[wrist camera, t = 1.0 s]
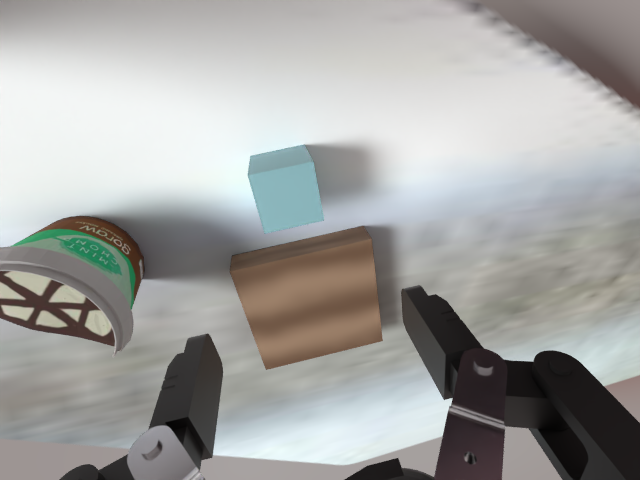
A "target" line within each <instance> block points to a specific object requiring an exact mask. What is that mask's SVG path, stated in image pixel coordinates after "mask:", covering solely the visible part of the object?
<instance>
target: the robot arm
mask: <svg viewBox="0 0 640 480" xmlns="http://www.w3.org/2000/svg"><path fill="white" fill-rule="evenodd" d="M401 296H402V315H403V322H404V325H405V328H406V331H407V333H408V335H409V336H410V338H411V340H412V342H413V344H414V346H415V347H416V349H417V351H418V353H419V355H420V357H421V358H422V360H423V362H424V364H425V366H426V368H427V370H428V371H429V373H430V375H431V377H432V379H433V381H434V382H435V384H436V386H437V388H438V390H439V392H440V393H441V395H442V397H443V399H444V400H445V399H449V398H453V399H452V404H451V406H450V407H449V410H448V414H447V419H446V423H445V428H444V433H443V438H442V443H441V447H440V452H439V457H438V461H437V466H436V471H435V476H434V477H432V476H430V475H428V474H426V473H424V472H421V471H417V470H413V469H407V468H401V465H400V462H399V459H398V458H396V459H392V460H389V461H384V462H381V463H377V464H373V465H369V466H366V467H365V468H363V469H362V470H360V471H358V472H356V473H355V474H353V475H352V476H350V477H348V478H347V479H345V480H502V469H503V452H504V438H505V426H509V427H521V428H529V430H530V431H531V433H532V434H533V436H534V437H535V439H536V440H537V442H538V443H539V445H540V446H541V448H542V449H543V451H544V452H545V454H546V455H547V457H548V458H549V460H550V461H551V463H552V464H553V466H554V467H555V469H556V470H557V472H558V474H559V475H560V477H561V478H562V479H563V480H640V423H639V422H638V421H637V420H636V419H635V418H634V417H633V416H632V415H631V414H630V413H629V412H628V411H627V410H626V409H625V408H624V407H623V406H622V405H621V403H620V402H618V400H617V399H616V398H615V397H614V396H613V395H612V394H611V393H610V392H609V391H608V390H607V389H606V388H605V387H604V386H603V385H602V384H601V383H600V382H599V381H598V380H597V379H596V378H595V377H594V376H593V375H592V374H591V373H590V372H589V371H588V370H587V369H586V368H585V367H584V366H583V365H582V364H581V363H580V362H579V361H578V360H576V359H575V358H573V357H572V356H570V355H568V354H565V353H562V352H558V351H543V352H540V353H538V354H537V355H536V356H535V358H534V362H527V361H509V360H504V359H502V358H501V357H500V356H499V355H498V354H496V353H495V352H493V351H490V350H487V349H484V348H483V347H482V346H481V344H480V343H479V342H478V341H477V339H476V338H475V337H474V335H473V334H472V333H471V332H470V330H469V329H468V328H467V326H466V325H465V324H464V323H463V321H462V320H460V318H459V316H458V315H457V314H456V312H454V310H453V309H452V307H451V306H450V305H449V303H448V302H447V301H446V300H444V299H442V298H441V297H439V296H438V295H436V294H435V295H431V296H428V295H427V293H426V292H425V291H424V289H423V288H422V287H421V286H420V285H418V286H414V287H409V288H405V289H402V291H401ZM222 377H223V367H222V362H221V359H220V357H219V354H218V352H217V350H216V348H215V345H214V343H213V341H212V339H211V337H210V335H209V334H204V335H200V336H195V337H191V338H189V339H188V340H187V343H186V347H185V350H184V353H180V354H177V355H176V356H175V358H174V359H173V360H172V362H171V363H170V364H169V366H168V369H167V372H166V375H165V380H164V381H163V385H162V390H161V391H160V394H159V397H158V401H157V404H156V407H155V410H154V414H153V417H152V420H151V423H150V426H149V429H148V430H147V431H146V432H144V433H143V434H142V435H141V436H139V438H138V439H137V440H136V441H135V442H134V443H133V445H132V447H131V448H130V450H129V453H128V454H127V455H126V456H124V457H122V458H120V459H119V460H117V461H115V462H113V463H111V464H110V465H108V466H106V467H104V468H103V469H100V470H98V469H97V468H96V467H94V466H93V465H90V464H87V465H81V466H79V467H76V468H75V469H73V470H71V471H69V472H68V473H67V474H65V475H64V476H63V477H62V478H61V479H60V480H205V478H204V477H203V475H202V474H201V472H200V466H201V460H204V459H208V458H212V456H213V448H214V440H215V432H216V425H217V417H218V409H219V401H220V393H221V385H222Z"/></svg>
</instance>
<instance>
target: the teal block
mask: <svg viewBox="0 0 640 480" xmlns="http://www.w3.org/2000/svg"><path fill="white" fill-rule="evenodd" d="M248 178H249V181H250V185H251V188H252V192H253V195H254V199H255V202H256V206H257V209H258V213H259V216H260V219H261V223H262V226H263V230H264V233H265V234H266V233H270V232H275V231H279V230H284V229H288V228H293V227H297V226H302V225H306V224H311V223H315V222H319V221H324V217H323V211H322V206H321V200H320V195H319V189H318V184H317V178H316V173H315V167H314V162H313V160H312V158H311V156H310V154H309V152H308V150H307V148H306V147H305V145H300V146H296V147H291V148H286V149H281V150H277V151H272V152H267V153H262V154H258V155H253V156H250V162H249V170H248Z"/></svg>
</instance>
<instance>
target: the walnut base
mask: <svg viewBox="0 0 640 480" xmlns="http://www.w3.org/2000/svg"><path fill="white" fill-rule="evenodd" d="M230 274H231V276H232V279H233V282H234V285H235V287H236V290H237V293H238V295H239V298H240V301H241V303H242V306H243V309H244V311H245V314H246V317H247V320H248V322H249V325H250V328H251V330H252V333H253V336H254V338H255V341H256V344H257V347H258V349H259V352H260V355H261V357H262V360H263V363H264V365H265V368H266V370H267V369H271V368H275V367H279V366H283V365H287V364H291V363H295V362H300V361H304V360H308V359H312V358H316V357H320V356H324V355H328V354H332V353H336V352H340V351H344V350H348V349H352V348H356V347H360V346H364V345H368V344H372V343H376V342H380V341H383V340H382V331H381V321H380V312H379V303H378V293H377V284H376V275H375V265H374V256H373V247H372V239H371V237H370V236H369V234H368V232H367V231H366V229H365V228H364V226H361V227H356V228H352V229H347V230H343V231H339V232H334V233H330V234H325V235H321V236H317V237H312V238H308V239H303V240H299V241H295V242H290V243H286V244H281V245H277V246H273V247H268V248H264V249H259V250H255V251H251V252H246V253H242V254H237V255H233V256H232V260H231V266H230Z"/></svg>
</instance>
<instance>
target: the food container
mask: <svg viewBox="0 0 640 480" xmlns="http://www.w3.org/2000/svg"><path fill="white" fill-rule="evenodd" d="M143 274H144V257H143V255H142V253H141V251H140V249H139V246H138V244H137V243H136V242H135V241H134V240H133V239H132V238H131V237H130V235H129V234H128V233H127V232H125V231H124V230H122V229H121V228H119V227H118V226H116V225H115V224H112V223H110V222H108V221H105V220H102V219H99V218H94V217H88V216H75V217H68V218H64V219H61V220H58V221H56V222H54V223H52V224H50V225H48V226H47V227H45V228H43V229H41V230H39V231H38V232H36V233H34V234H32V235H30V236H29V237H27V238H25V239H23V240H21V241H20V242H18V243H16V244H14V245H12V246H11V247H1V248H0V318H1V319H4V320H7V321H9V322H12V323H15V324H17V325H20V326H23V327H26V328H29V329H32V330H37V331H43V332H48V333H56V334H63V335H69V336H75V337H80V338H84V339H88V340H92V341H96V342H100V343H104V344H107V345H111V346H115V350H114V354H113V357H114V356H115V354H116V353H117V351H119V352H121V351H122V349H123V348H124V347H125V346H126V345H127V343H128V342H129V341H130V339H131V336H132V333H133V316H132V311H131V309H132V306H133V304H134V301H135V298H136V295H137V292H138V289H139V286H140V283H141V280H142V277H143Z"/></svg>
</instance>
